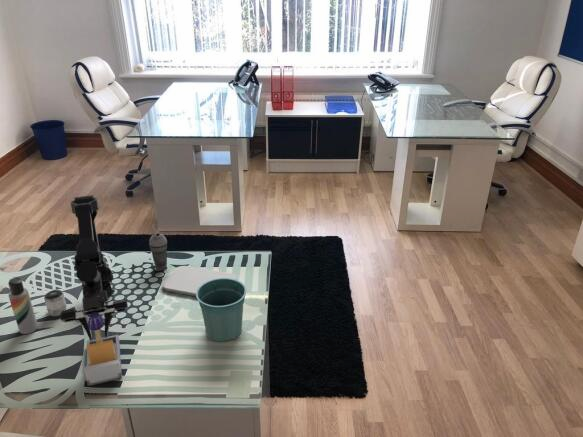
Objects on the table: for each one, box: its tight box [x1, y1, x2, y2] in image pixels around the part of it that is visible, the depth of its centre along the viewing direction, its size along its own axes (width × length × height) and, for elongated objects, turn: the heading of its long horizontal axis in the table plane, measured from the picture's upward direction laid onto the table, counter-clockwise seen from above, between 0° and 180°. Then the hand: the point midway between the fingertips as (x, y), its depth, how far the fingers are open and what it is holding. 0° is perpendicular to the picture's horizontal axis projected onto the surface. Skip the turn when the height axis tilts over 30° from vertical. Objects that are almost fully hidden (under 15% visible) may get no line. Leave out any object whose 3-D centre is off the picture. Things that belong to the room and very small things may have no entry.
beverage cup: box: [148, 224, 168, 271], centre depth 193 cm, size 7×7×20 cm
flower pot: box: [195, 278, 247, 342], centre depth 160 cm, size 16×16×16 cm
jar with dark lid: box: [43, 289, 67, 317], centre depth 169 cm, size 6×6×8 cm
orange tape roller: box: [83, 334, 123, 387], centre depth 148 cm, size 18×10×6 cm, turn 20°
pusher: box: [86, 340, 116, 366], centre depth 145 cm, size 1×7×8 cm, turn 110°
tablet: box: [162, 265, 237, 297], centre depth 187 cm, size 16×26×2 cm, turn 75°
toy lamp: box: [87, 312, 105, 343], centre depth 144 cm, size 5×5×17 cm
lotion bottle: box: [7, 277, 39, 335], centre depth 158 cm, size 6×6×20 cm
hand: (98, 339), depth 143 cm, fingers closed on toy lamp, 4 cm apart
